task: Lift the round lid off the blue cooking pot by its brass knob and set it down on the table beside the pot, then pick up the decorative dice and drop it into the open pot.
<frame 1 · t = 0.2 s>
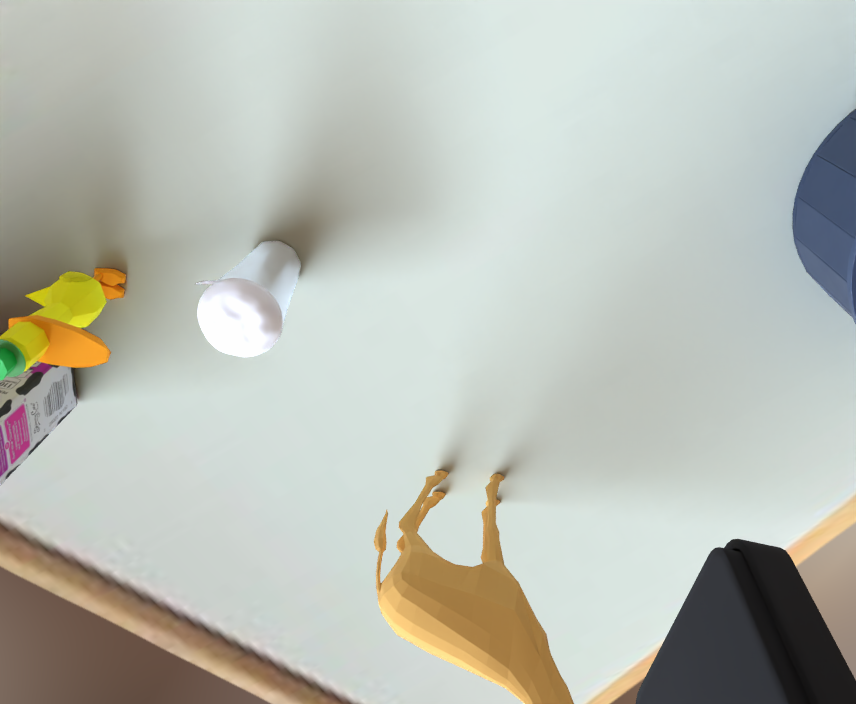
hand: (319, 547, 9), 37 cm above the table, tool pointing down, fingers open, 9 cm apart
toy figure: (114, 281, 48), on the table
milkshake: (273, 257, 47), on the table
giraffe: (497, 488, 54), on the table
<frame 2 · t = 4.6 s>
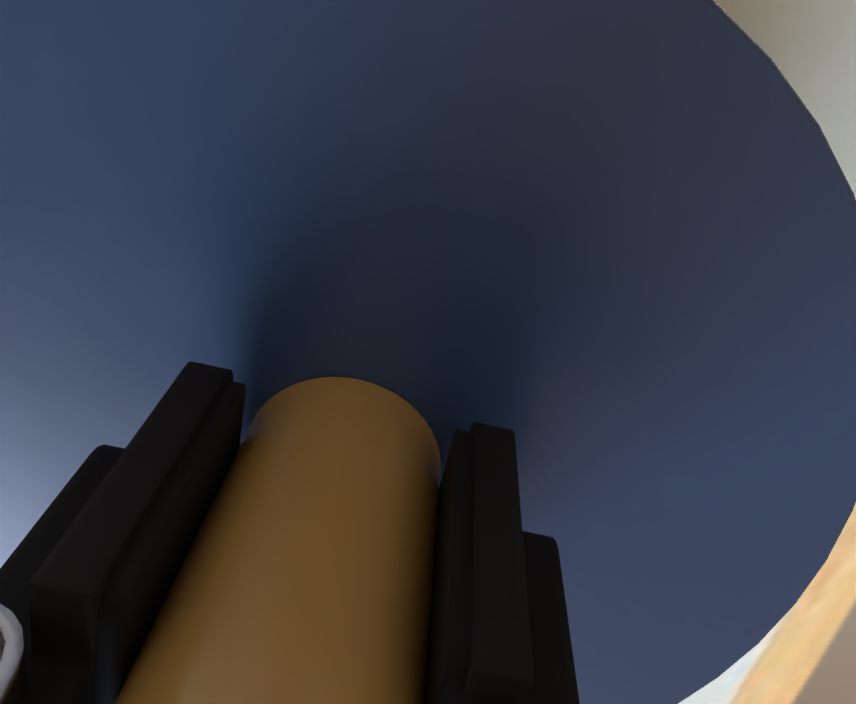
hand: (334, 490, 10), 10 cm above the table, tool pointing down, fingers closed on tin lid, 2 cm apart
tin lid: (348, 440, 11), point 9 cm above the table, touching gripper, blue cooking pot
when the fingers open (2 cm above the table, at t = 13.6 s): tin lid stays where it is, point 1 cm above the table.
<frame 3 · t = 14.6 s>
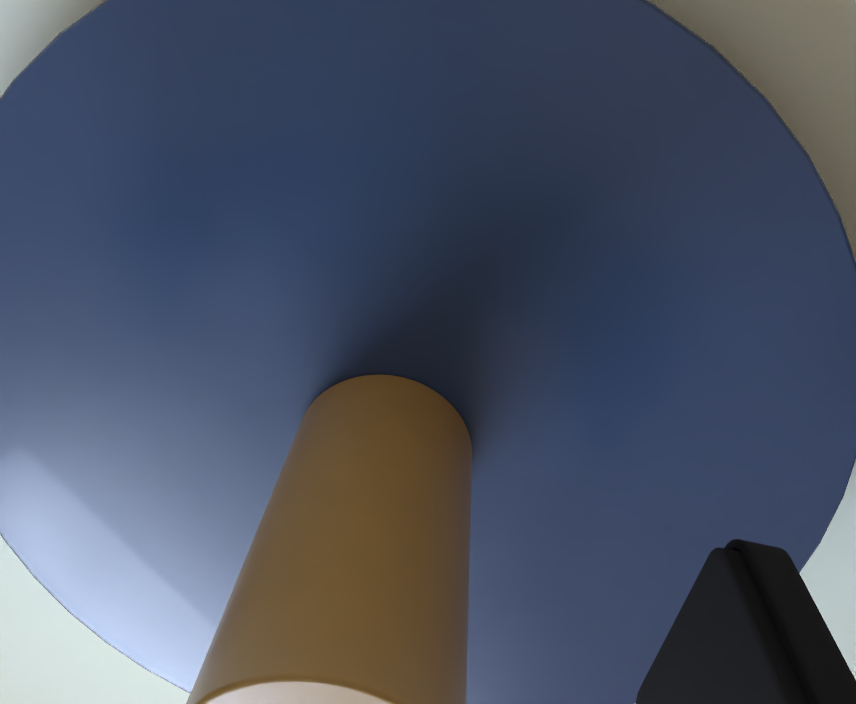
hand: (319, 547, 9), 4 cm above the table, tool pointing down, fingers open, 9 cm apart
tin lid: (388, 432, 12), point 1 cm above the table
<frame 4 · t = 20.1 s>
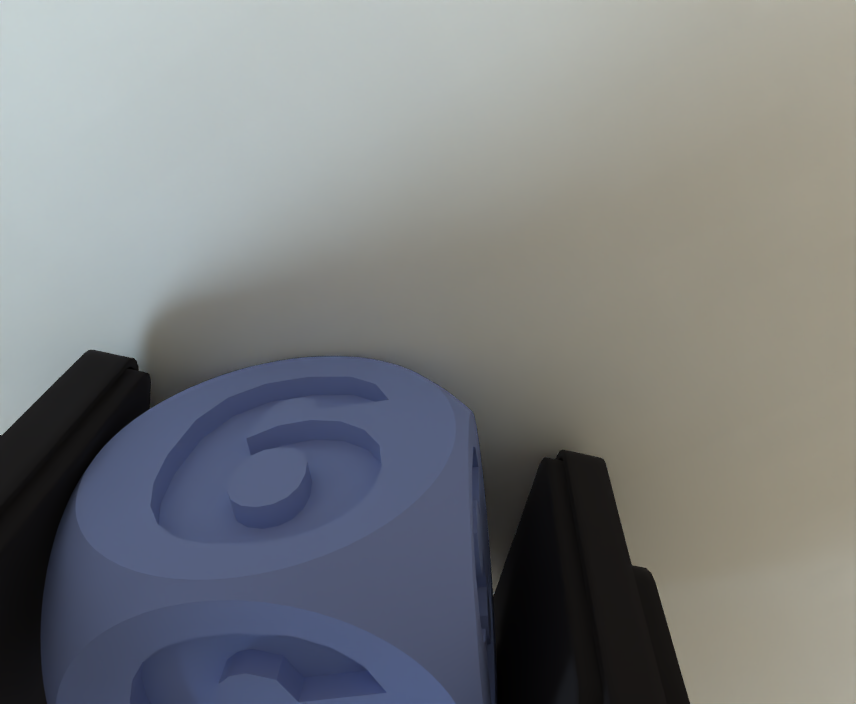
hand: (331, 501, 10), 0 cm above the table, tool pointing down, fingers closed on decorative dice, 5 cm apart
decorative dice: (340, 472, 10), on the table, touching gripper
when the fingers open (8 cm above the table, at t = 27.2 s): decorative dice drops 7 cm, resting on blue cooking pot.
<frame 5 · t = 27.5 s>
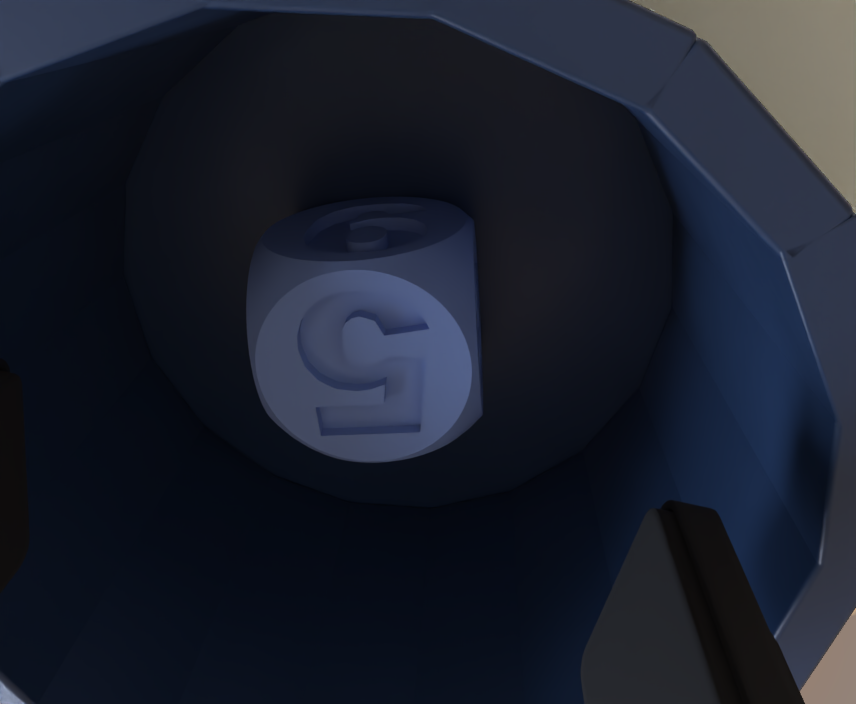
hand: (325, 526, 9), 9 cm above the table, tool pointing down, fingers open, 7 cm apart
blue cooking pot: (396, 281, 17), on the table
decorative dice: (388, 281, 17), resting on blue cooking pot
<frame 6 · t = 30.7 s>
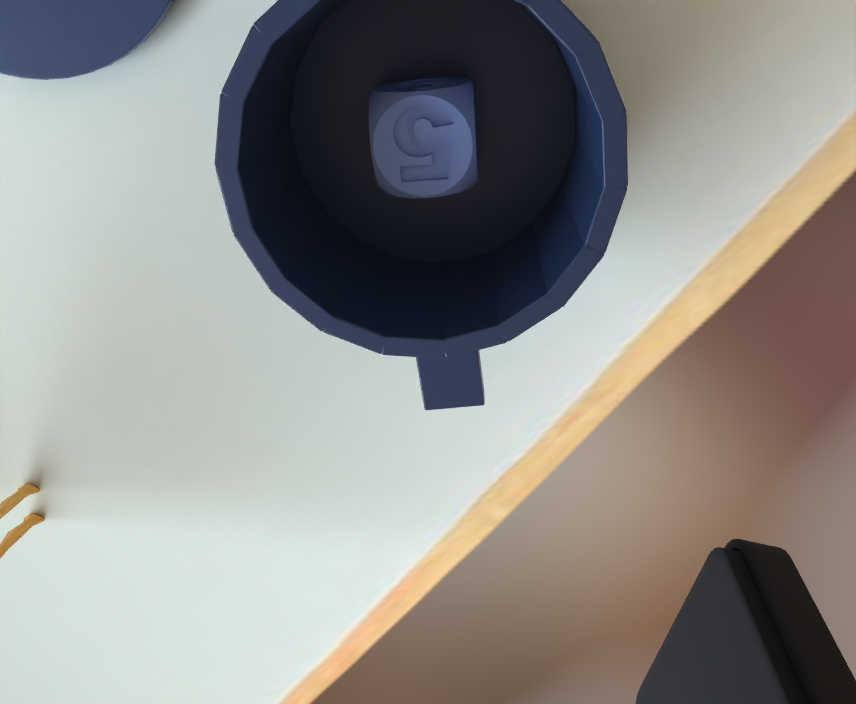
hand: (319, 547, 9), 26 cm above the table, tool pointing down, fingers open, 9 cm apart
giraffe: (37, 502, 44), on the table
blue cooking pot: (432, 127, 32), on the table
decorative dice: (429, 125, 32), resting on blue cooking pot
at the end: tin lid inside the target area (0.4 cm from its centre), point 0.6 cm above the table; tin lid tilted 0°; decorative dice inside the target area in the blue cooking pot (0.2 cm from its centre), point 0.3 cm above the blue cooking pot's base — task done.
